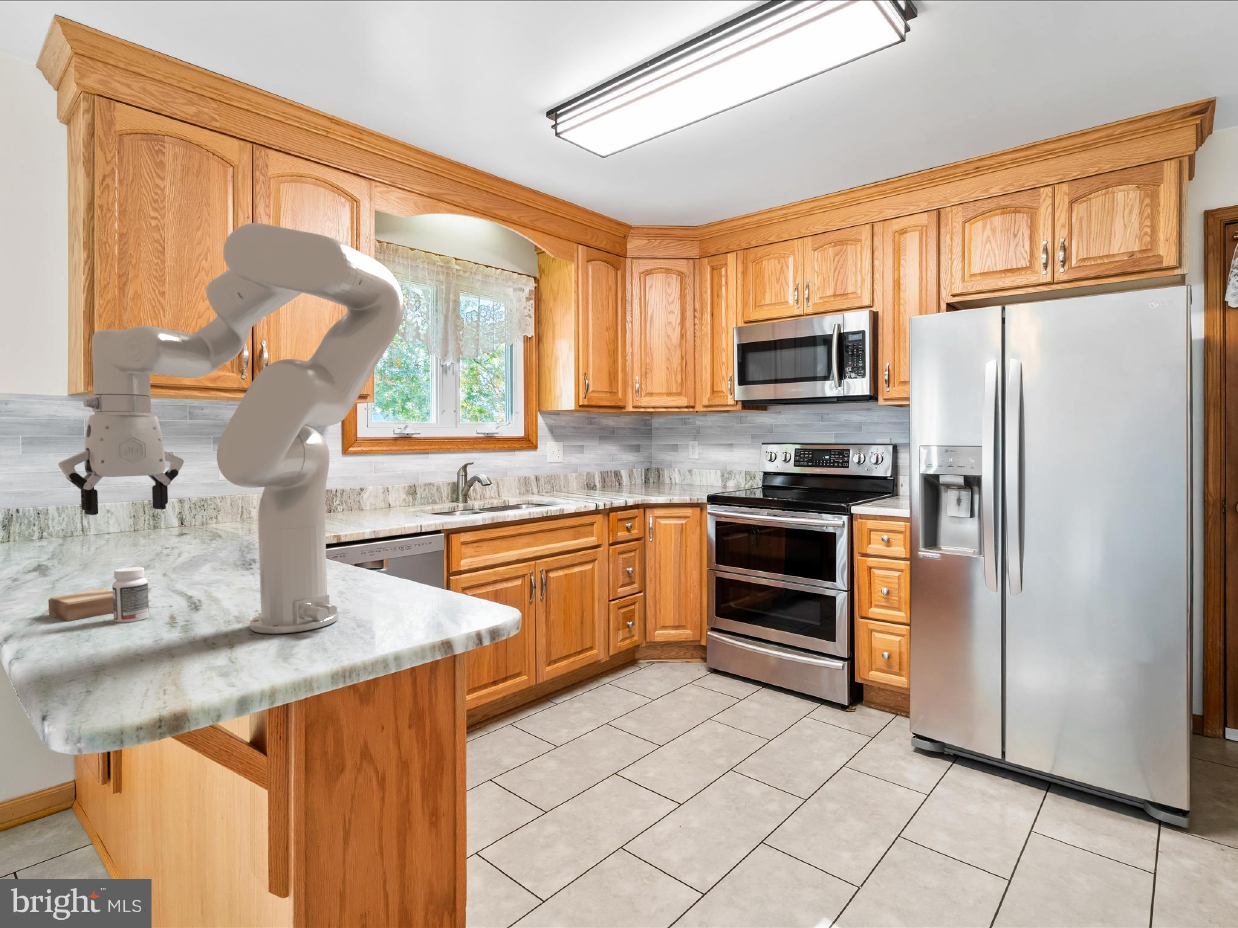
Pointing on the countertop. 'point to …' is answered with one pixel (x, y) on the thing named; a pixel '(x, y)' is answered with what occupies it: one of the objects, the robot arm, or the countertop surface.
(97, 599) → the walnut stand
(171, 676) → the countertop surface
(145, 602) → the pill bottle
